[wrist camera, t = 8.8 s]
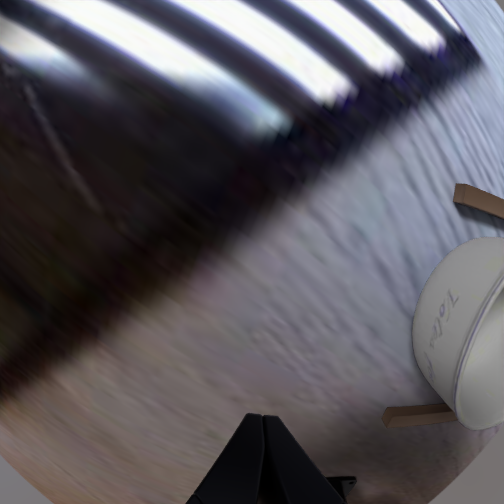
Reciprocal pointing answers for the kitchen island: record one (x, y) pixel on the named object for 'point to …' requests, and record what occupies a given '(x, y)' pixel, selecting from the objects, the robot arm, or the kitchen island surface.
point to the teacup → (465, 332)
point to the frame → (442, 411)
